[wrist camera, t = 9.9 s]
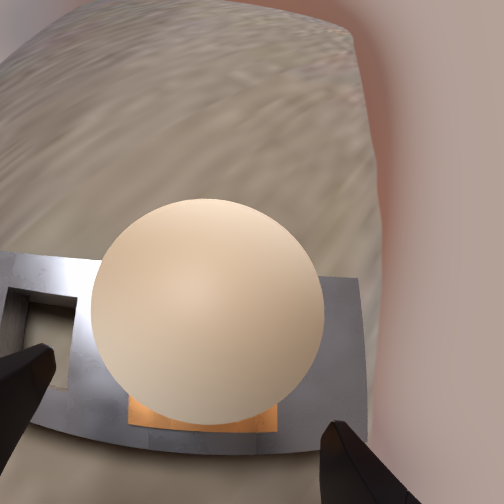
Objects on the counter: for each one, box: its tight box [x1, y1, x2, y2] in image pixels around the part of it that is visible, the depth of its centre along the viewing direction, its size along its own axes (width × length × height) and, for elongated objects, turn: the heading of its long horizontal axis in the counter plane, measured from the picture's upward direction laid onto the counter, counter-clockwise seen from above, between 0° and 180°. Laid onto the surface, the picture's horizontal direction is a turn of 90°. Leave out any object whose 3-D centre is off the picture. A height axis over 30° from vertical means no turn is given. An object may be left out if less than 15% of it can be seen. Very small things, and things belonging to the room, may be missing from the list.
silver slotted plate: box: [0, 251, 367, 455], centre depth 15 cm, size 28×10×3 cm, turn 90°
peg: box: [90, 199, 324, 425], centre depth 11 cm, size 4×4×14 cm
